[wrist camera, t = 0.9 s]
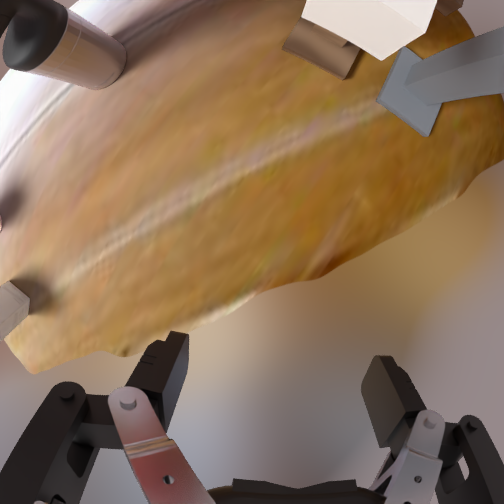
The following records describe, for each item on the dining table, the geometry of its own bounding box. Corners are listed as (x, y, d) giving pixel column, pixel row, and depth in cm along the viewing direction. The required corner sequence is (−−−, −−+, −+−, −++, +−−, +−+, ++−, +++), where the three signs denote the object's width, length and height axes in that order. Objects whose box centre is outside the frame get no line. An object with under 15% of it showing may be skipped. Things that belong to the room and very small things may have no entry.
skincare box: (7, 297, 49) (-30, 326, 35) (9, 278, 48) (-32, 306, 33) (30, 316, 51) (-7, 350, 36) (31, 298, 49) (-8, 331, 35)
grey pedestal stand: (419, 146, 38) (575, 163, 10) (370, 111, 37) (523, 73, 8) (444, 83, 34) (579, 60, 5) (400, 48, 32) (524, -18, 4)
